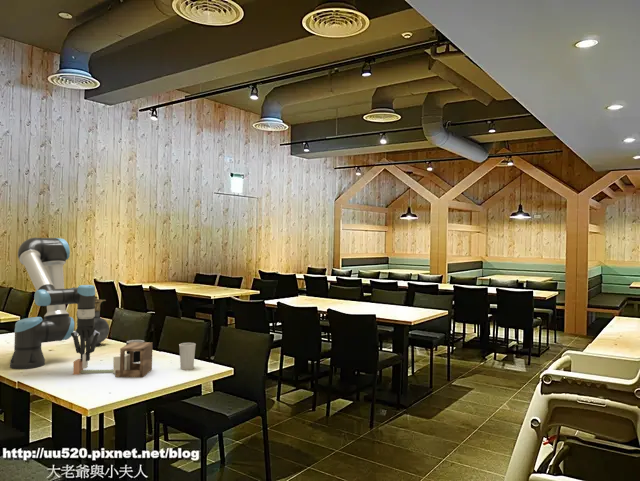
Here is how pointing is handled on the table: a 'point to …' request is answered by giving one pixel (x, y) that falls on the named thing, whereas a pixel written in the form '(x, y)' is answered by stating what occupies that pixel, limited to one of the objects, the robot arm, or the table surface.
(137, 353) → the mug
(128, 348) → the cubby
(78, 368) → the mismatched dumbbell
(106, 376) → the table surface
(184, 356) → the cup
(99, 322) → the pitcher
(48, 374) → the table surface
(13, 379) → the table surface
